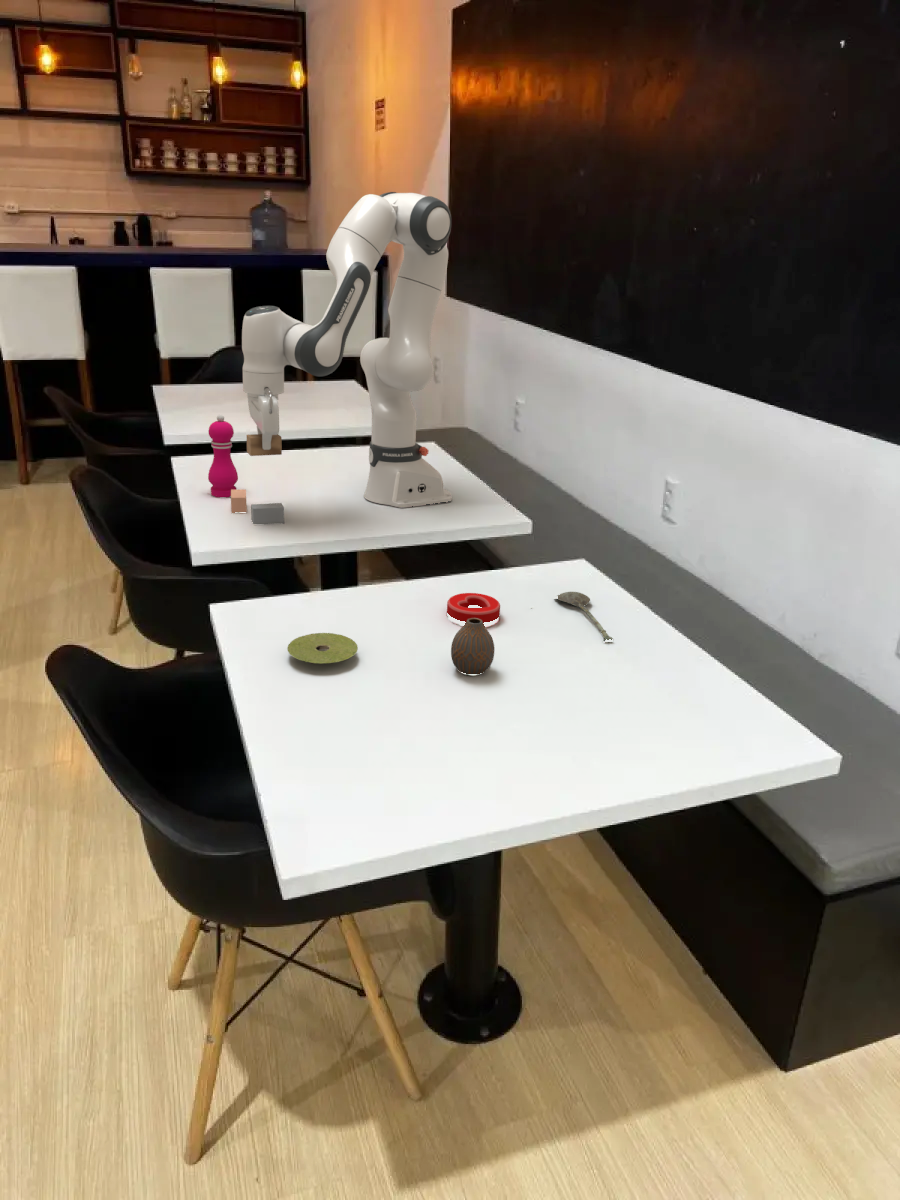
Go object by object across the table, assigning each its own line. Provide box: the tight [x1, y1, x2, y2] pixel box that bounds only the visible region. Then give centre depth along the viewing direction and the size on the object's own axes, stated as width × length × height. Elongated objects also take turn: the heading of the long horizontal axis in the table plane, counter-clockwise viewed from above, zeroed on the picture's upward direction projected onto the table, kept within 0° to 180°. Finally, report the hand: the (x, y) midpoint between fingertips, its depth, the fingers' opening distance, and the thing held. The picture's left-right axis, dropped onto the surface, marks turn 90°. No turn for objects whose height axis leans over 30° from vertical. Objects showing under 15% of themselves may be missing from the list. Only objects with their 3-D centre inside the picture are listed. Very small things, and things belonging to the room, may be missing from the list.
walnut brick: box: [246, 433, 283, 457], centre depth 205 cm, size 7×4×4 cm, turn 115°
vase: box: [450, 618, 495, 674], centre depth 145 cm, size 7×7×9 cm
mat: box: [286, 632, 359, 664], centre depth 148 cm, size 11×11×2 cm
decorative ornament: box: [446, 592, 501, 623], centre depth 166 cm, size 10×10×3 cm
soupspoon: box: [557, 591, 614, 641], centre depth 169 cm, size 22×3×7 cm
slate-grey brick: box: [250, 502, 285, 525], centre depth 211 cm, size 7×4×4 cm, turn 110°
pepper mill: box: [207, 414, 239, 498], centre depth 226 cm, size 7×7×20 cm
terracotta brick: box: [230, 488, 248, 514], centre depth 218 cm, size 7×4×4 cm, turn 12°
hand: (264, 446), depth 205 cm, fingers closed on walnut brick, 4 cm apart
